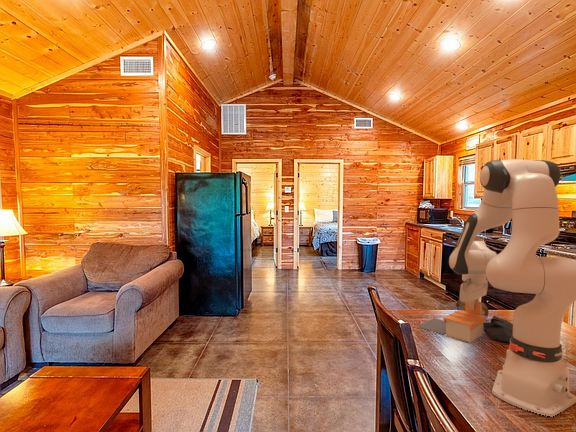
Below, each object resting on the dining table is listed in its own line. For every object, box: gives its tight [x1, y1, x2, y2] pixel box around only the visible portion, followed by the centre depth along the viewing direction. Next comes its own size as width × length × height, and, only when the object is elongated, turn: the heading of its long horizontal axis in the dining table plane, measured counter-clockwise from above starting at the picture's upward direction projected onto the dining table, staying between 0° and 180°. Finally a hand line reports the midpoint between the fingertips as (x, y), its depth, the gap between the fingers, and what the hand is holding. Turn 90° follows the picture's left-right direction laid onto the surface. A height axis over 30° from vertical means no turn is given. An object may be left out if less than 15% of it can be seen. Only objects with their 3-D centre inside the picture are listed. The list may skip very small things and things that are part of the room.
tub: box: [445, 320, 484, 344], centre depth 131 cm, size 14×9×7 cm, turn 129°
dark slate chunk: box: [483, 315, 513, 344], centre depth 132 cm, size 15×22×5 cm
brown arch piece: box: [456, 298, 489, 319], centre depth 153 cm, size 15×3×8 cm, turn 25°
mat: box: [419, 317, 446, 336], centre depth 141 cm, size 16×12×1 cm
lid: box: [442, 303, 487, 331], centre depth 131 cm, size 17×11×6 cm, turn 129°
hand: (473, 308), depth 136 cm, fingers closed
